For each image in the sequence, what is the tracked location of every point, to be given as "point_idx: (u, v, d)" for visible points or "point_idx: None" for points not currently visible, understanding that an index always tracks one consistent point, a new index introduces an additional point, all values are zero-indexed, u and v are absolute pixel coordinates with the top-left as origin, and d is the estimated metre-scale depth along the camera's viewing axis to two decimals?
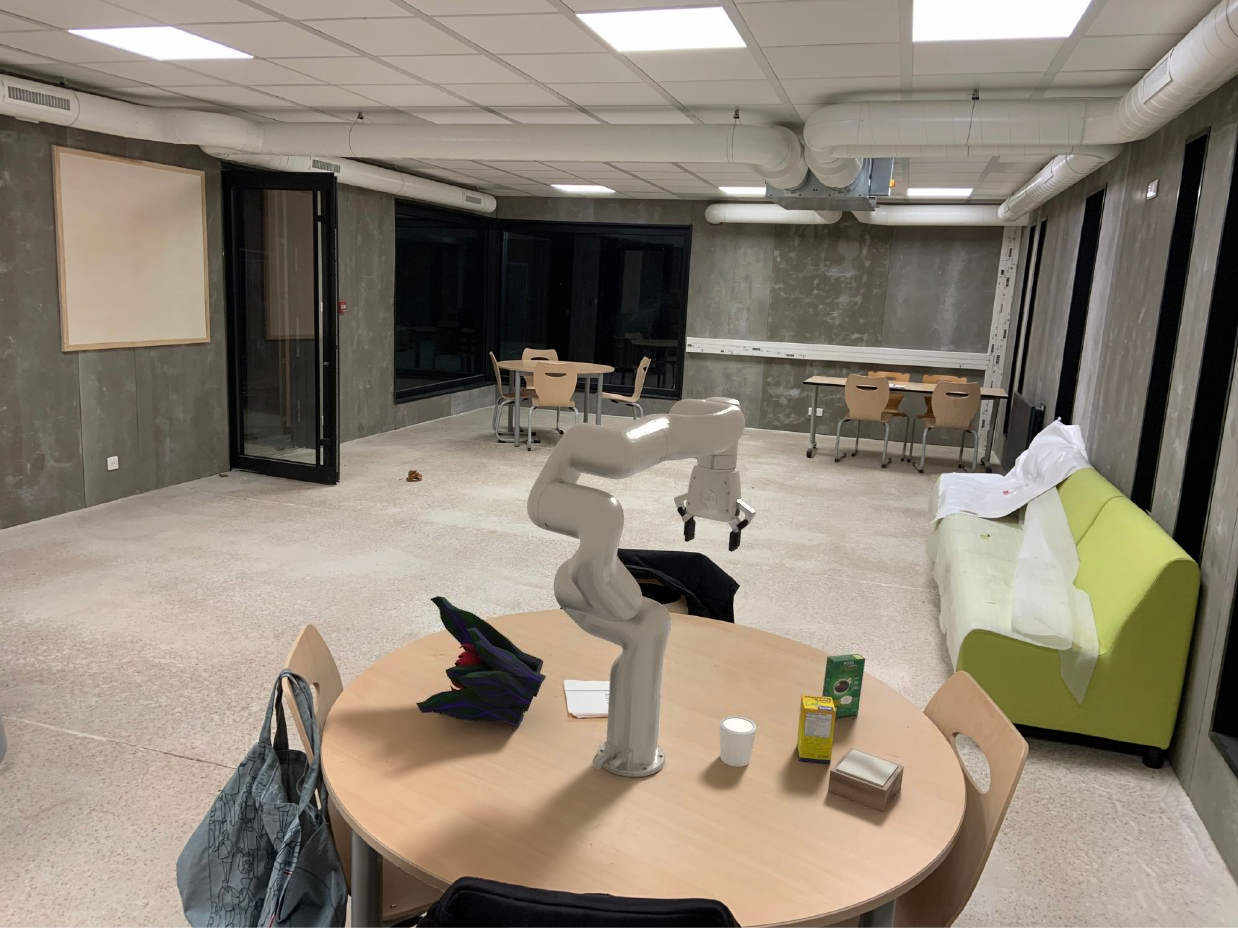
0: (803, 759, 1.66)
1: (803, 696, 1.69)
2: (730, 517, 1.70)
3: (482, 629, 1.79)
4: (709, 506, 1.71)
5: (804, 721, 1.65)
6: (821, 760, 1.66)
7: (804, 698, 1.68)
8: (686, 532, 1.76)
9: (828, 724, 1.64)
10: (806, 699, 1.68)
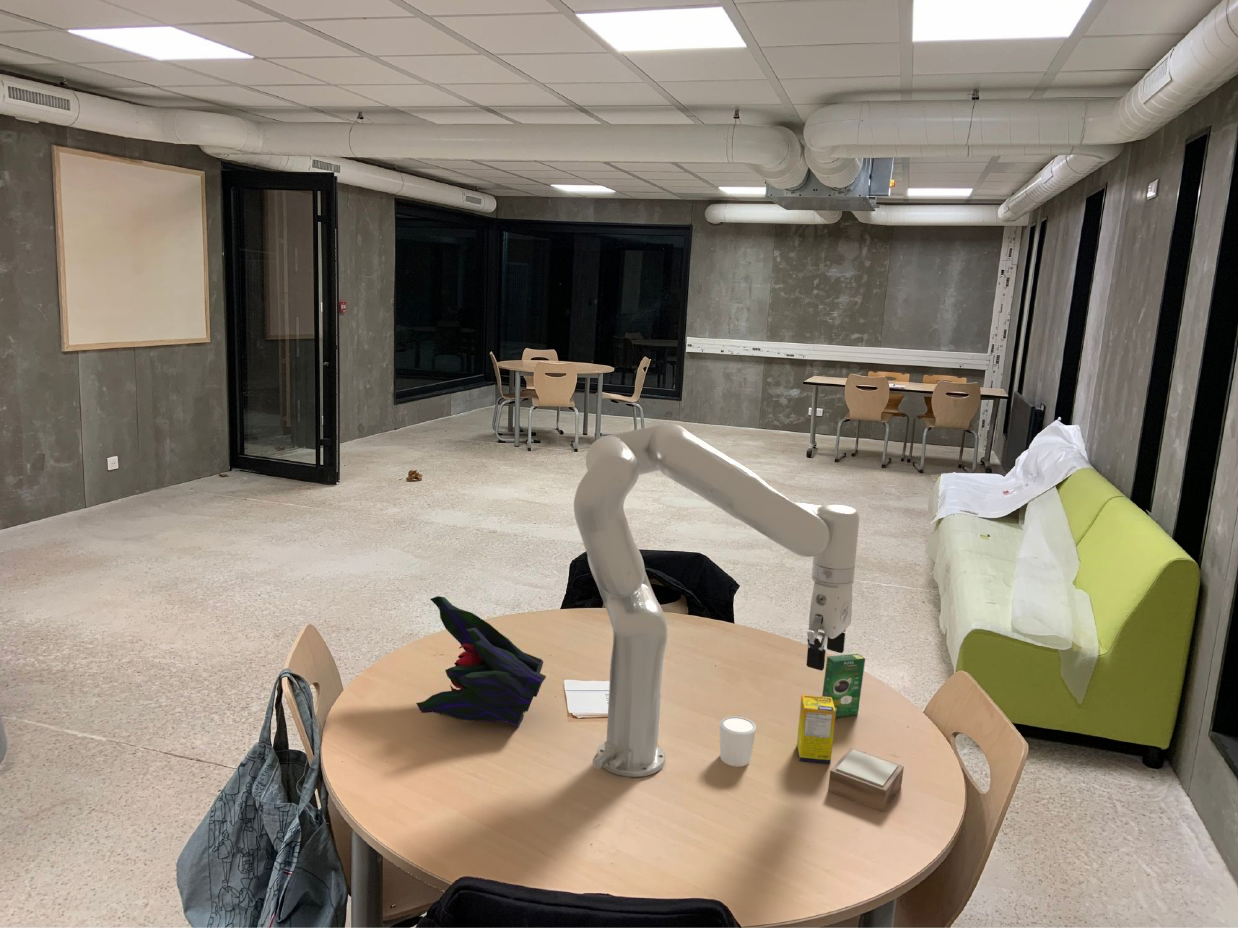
0: (803, 759, 1.66)
1: (803, 696, 1.69)
2: None
3: (482, 629, 1.79)
4: (844, 619, 1.62)
5: (804, 721, 1.65)
6: (821, 760, 1.66)
7: (804, 698, 1.68)
8: (824, 660, 1.60)
9: (828, 724, 1.64)
10: (806, 699, 1.68)
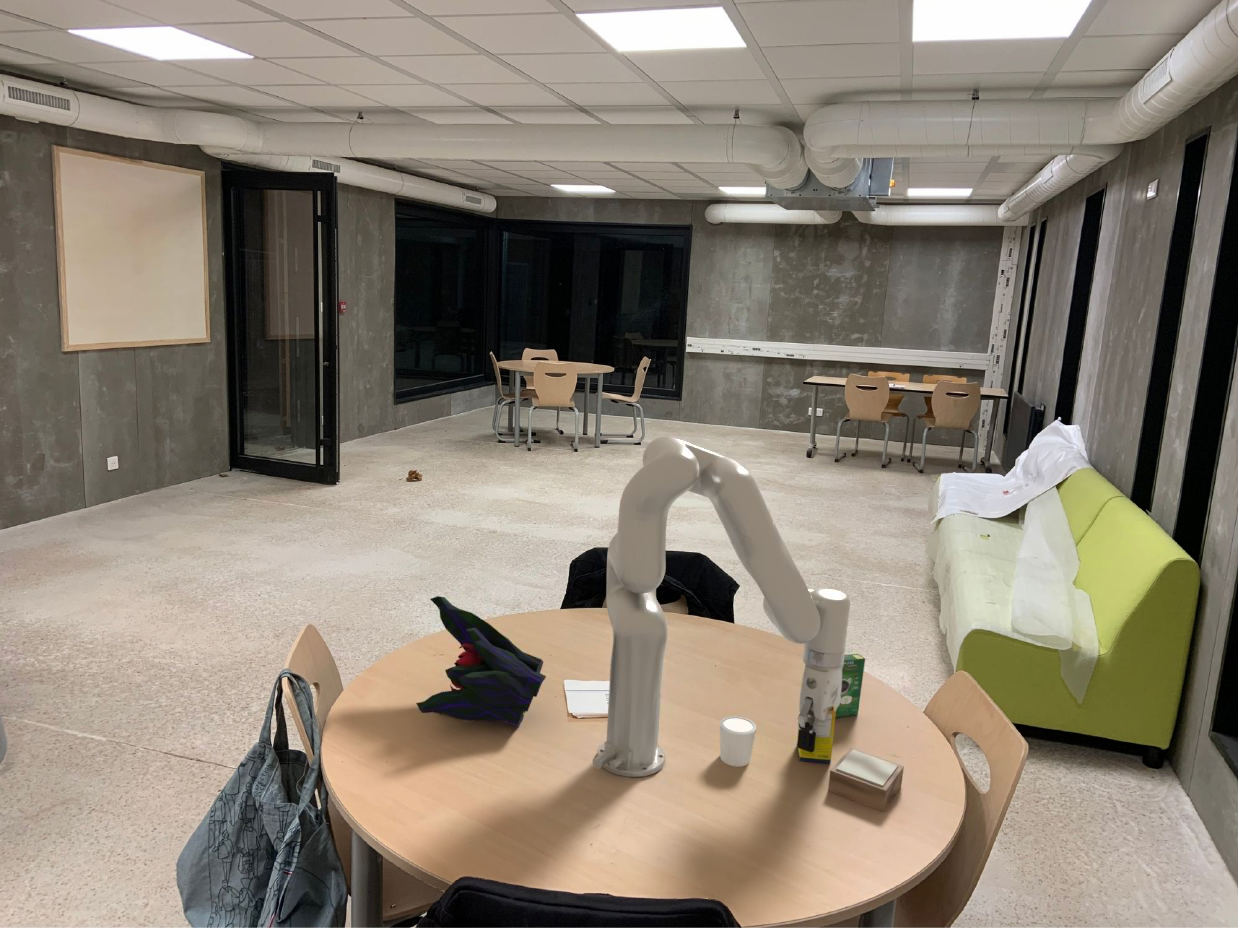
0: (803, 759, 1.66)
1: None
2: None
3: (482, 629, 1.79)
4: (833, 701, 1.65)
5: None
6: (821, 760, 1.66)
7: None
8: (814, 742, 1.64)
9: (828, 724, 1.64)
10: None
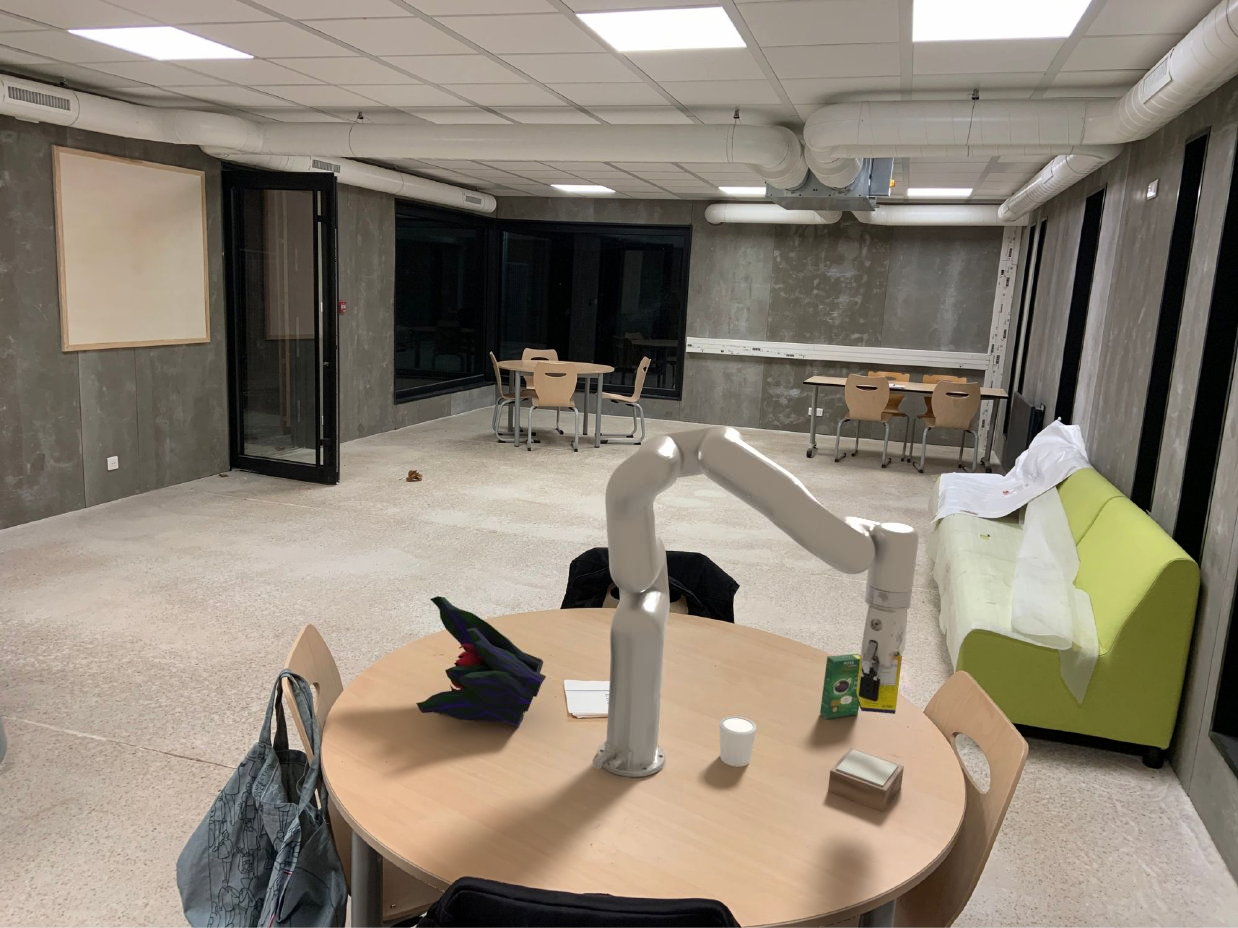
0: (865, 709, 1.52)
1: None
2: None
3: (482, 629, 1.79)
4: (898, 645, 1.51)
5: None
6: (884, 711, 1.52)
7: None
8: (878, 690, 1.50)
9: (893, 670, 1.50)
10: None
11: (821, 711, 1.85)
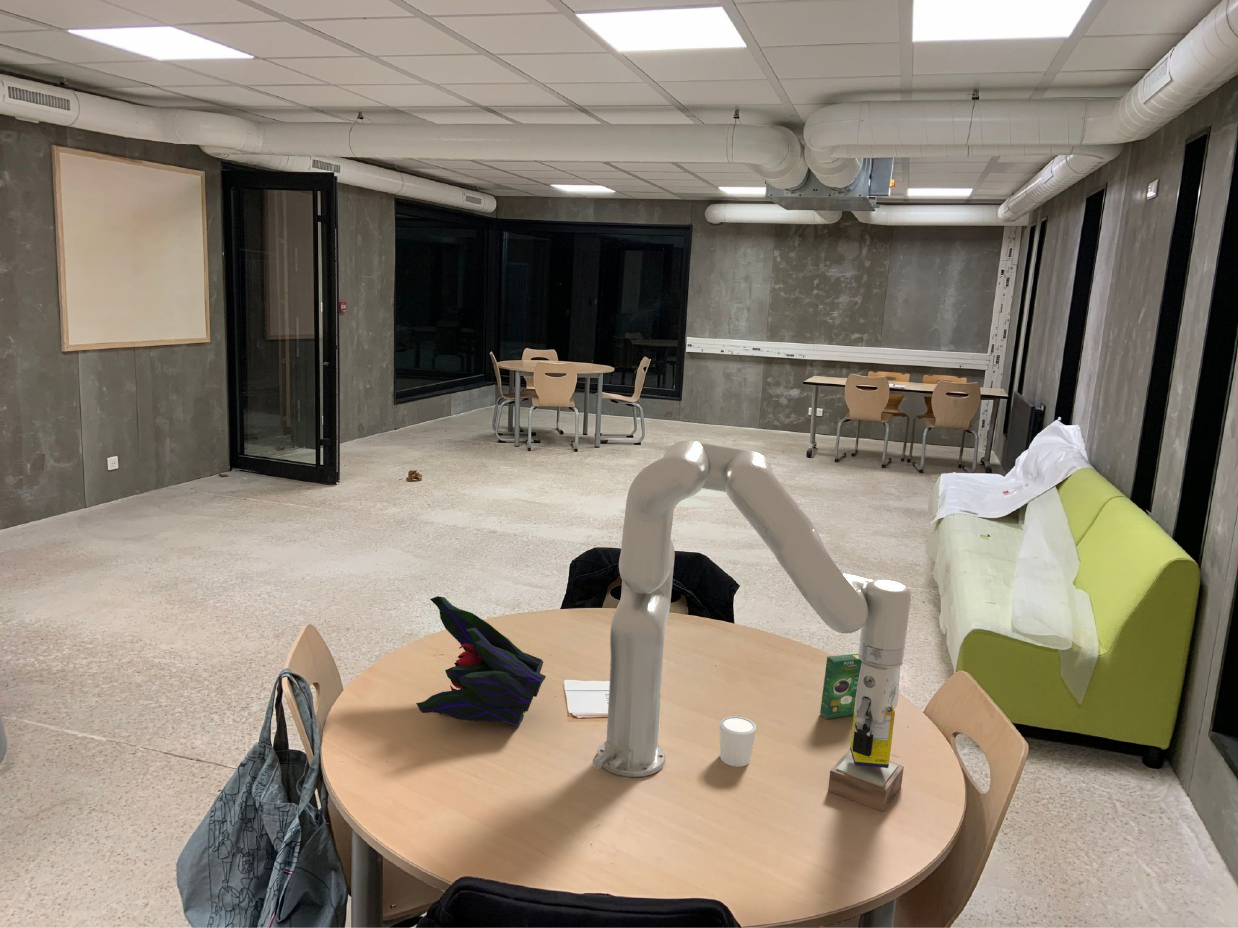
0: (859, 763, 1.54)
1: None
2: None
3: (482, 629, 1.79)
4: (891, 701, 1.54)
5: None
6: (878, 765, 1.54)
7: None
8: (871, 745, 1.52)
9: (887, 726, 1.53)
10: None
11: (821, 711, 1.85)
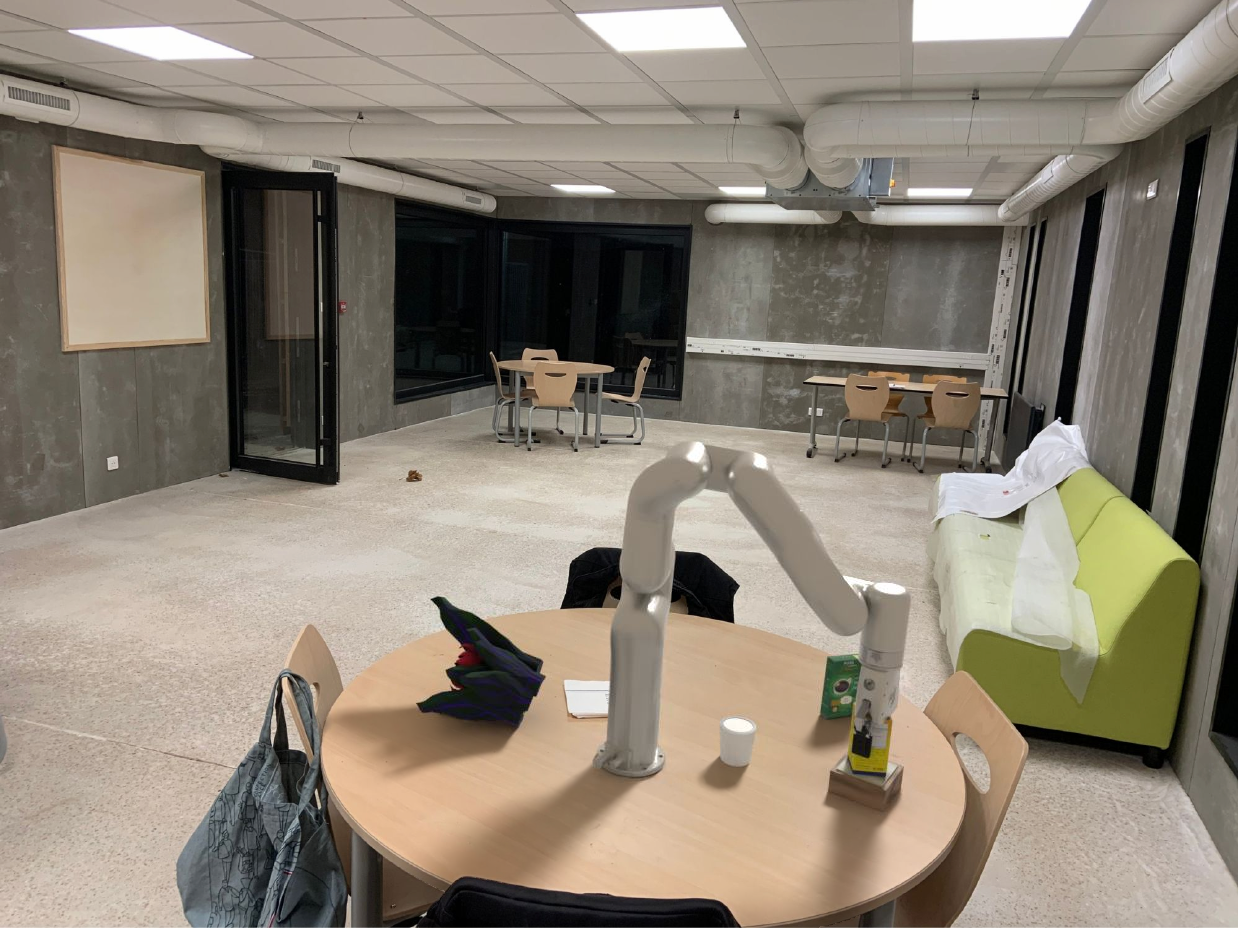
0: (857, 772, 1.55)
1: None
2: None
3: (482, 629, 1.79)
4: (891, 703, 1.54)
5: None
6: (876, 773, 1.54)
7: None
8: (870, 747, 1.52)
9: (884, 734, 1.53)
10: None
11: (821, 711, 1.85)
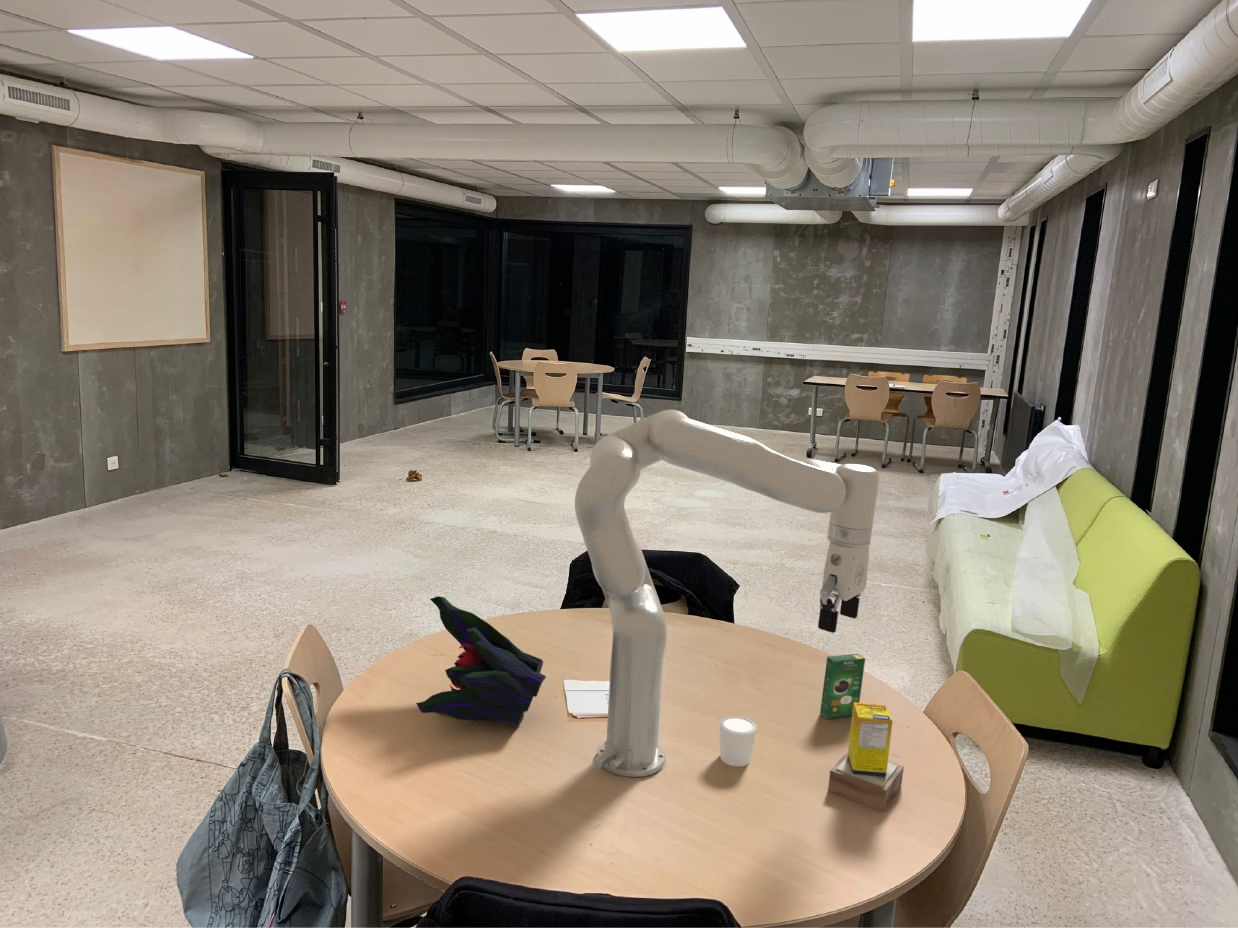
0: (857, 772, 1.55)
1: (855, 704, 1.57)
2: None
3: (482, 629, 1.79)
4: (858, 582, 1.58)
5: (858, 731, 1.53)
6: (876, 773, 1.54)
7: (857, 706, 1.57)
8: (836, 622, 1.56)
9: (884, 734, 1.53)
10: (859, 707, 1.56)
11: (821, 711, 1.85)
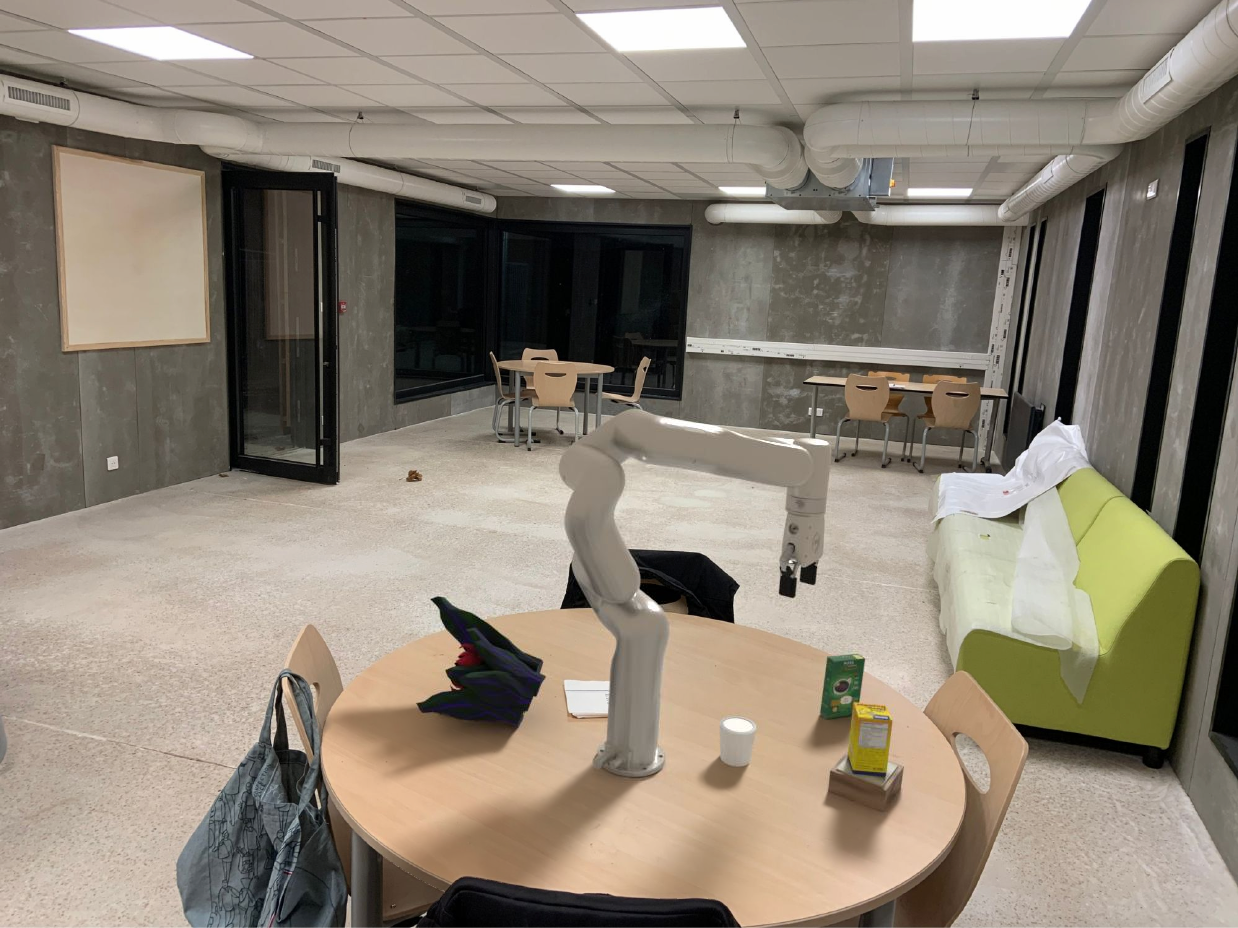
0: (857, 772, 1.55)
1: (855, 704, 1.57)
2: None
3: (482, 629, 1.79)
4: (815, 550, 1.68)
5: (858, 731, 1.53)
6: (876, 773, 1.54)
7: (857, 706, 1.57)
8: (795, 588, 1.65)
9: (884, 734, 1.53)
10: (859, 707, 1.56)
11: (821, 711, 1.85)
